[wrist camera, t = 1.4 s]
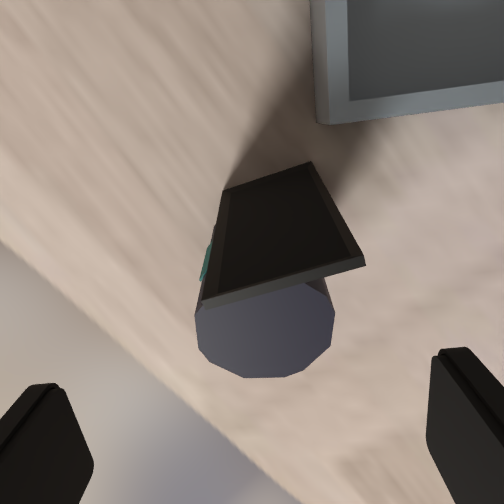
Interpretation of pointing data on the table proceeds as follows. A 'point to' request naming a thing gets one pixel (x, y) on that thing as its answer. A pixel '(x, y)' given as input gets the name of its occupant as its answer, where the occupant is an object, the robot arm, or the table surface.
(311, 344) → the speaker
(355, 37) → the open box
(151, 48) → the table surface
